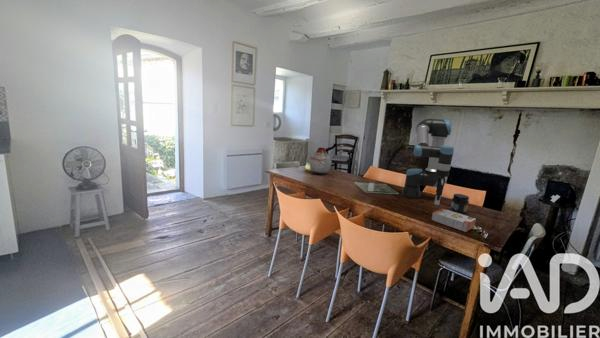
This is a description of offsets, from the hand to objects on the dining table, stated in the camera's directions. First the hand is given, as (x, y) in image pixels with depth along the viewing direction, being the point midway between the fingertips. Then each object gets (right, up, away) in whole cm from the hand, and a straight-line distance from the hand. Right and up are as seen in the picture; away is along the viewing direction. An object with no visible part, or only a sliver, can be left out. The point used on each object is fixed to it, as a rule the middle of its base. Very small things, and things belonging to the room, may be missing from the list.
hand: (436, 204), depth 175 cm
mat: (+12, -11, -2) cm, 16 cm away
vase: (-70, +18, +106) cm, 129 cm away
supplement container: (+24, -8, +17) cm, 31 cm away
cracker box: (-1, -6, 0) cm, 6 cm away
